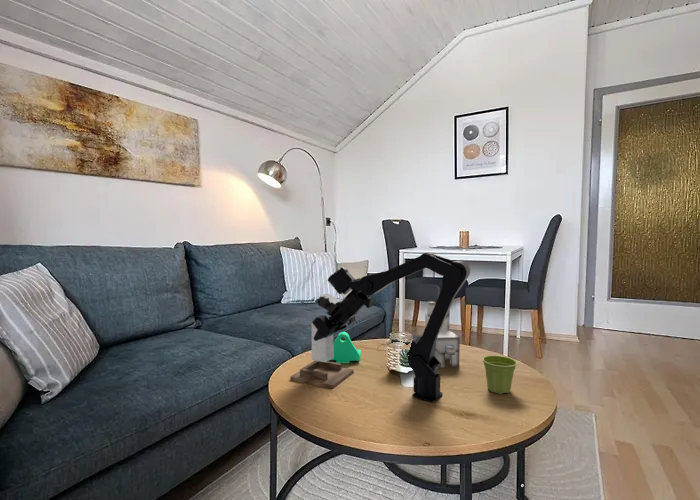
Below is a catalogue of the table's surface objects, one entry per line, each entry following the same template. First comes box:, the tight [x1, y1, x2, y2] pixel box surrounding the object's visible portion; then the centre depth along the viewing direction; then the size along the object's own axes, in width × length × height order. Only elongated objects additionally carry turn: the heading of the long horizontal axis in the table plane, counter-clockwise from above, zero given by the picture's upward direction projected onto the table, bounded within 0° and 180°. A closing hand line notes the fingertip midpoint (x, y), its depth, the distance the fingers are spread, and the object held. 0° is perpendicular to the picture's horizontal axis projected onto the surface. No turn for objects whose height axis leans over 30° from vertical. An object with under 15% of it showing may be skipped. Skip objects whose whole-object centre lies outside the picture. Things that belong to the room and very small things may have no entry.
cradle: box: [289, 360, 355, 390], centre depth 122 cm, size 15×14×3 cm
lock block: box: [311, 322, 334, 362], centre depth 121 cm, size 5×5×12 cm
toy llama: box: [424, 301, 461, 368], centre depth 136 cm, size 8×18×20 cm, turn 5°
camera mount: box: [329, 331, 362, 364], centre depth 138 cm, size 12×8×10 cm, turn 85°
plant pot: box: [481, 355, 518, 395], centre depth 111 cm, size 9×9×9 cm
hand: (318, 337), depth 122 cm, fingers closed on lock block, 5 cm apart
